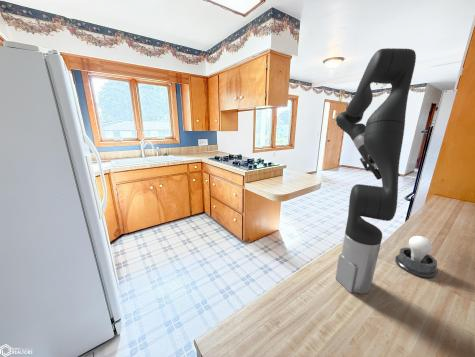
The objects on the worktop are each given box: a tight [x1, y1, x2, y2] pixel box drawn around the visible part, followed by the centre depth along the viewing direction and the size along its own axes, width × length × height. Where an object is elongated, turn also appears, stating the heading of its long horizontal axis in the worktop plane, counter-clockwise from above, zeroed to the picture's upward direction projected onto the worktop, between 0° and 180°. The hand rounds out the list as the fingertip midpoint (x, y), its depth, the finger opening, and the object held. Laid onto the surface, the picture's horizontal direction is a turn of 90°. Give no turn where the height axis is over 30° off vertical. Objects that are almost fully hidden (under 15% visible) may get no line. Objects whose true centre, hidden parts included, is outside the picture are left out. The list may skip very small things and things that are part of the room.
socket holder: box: [394, 247, 438, 280], centre depth 67 cm, size 11×11×4 cm
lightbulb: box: [408, 235, 434, 263], centre depth 67 cm, size 6×6×11 cm
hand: (389, 177), depth 73 cm, fingers open, 8 cm apart
